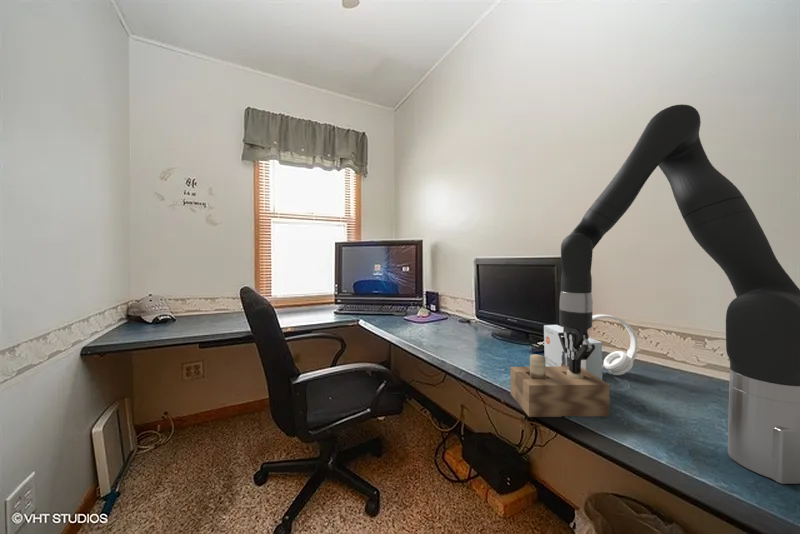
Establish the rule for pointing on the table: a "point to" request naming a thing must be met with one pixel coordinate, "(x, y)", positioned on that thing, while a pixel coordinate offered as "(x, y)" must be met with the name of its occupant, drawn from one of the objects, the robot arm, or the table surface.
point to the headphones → (619, 359)
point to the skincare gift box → (559, 358)
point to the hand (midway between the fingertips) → (574, 372)
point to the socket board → (560, 393)
